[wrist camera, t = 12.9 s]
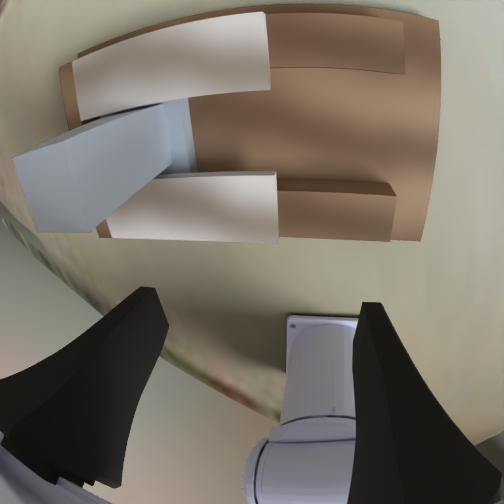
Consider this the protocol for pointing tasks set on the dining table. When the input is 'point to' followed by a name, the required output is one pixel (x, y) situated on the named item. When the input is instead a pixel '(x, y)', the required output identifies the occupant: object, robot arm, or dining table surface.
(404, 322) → the dining table surface
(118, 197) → the t stud
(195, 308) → the dining table surface
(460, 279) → the dining table surface
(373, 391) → the robot arm
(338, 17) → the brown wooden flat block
